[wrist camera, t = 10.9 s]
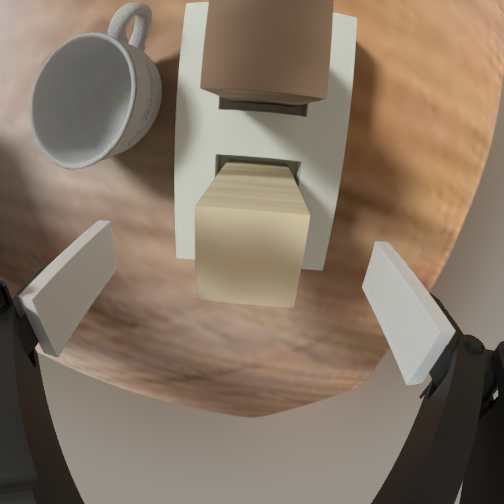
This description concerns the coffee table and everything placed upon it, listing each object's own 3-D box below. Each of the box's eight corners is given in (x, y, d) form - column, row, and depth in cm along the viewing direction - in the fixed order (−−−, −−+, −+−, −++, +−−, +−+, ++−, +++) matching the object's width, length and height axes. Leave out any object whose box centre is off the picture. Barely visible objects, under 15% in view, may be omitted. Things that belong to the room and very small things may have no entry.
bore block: (187, 238, 28) (176, 257, 25) (197, 17, 18) (186, 3, 15) (315, 250, 28) (322, 270, 25) (343, 30, 18) (356, 17, 15)
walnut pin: (233, 101, 21) (200, 88, 10) (237, 47, 19) (211, -15, 7) (293, 107, 21) (326, 99, 10) (298, 52, 19) (333, -5, 7)
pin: (229, 159, 24) (194, 205, 12) (287, 163, 24) (310, 215, 12) (226, 213, 26) (196, 299, 14) (280, 217, 26) (293, 307, 14)
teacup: (126, 174, 25) (83, 198, 18) (61, 114, 22) (10, 123, 15) (221, 62, 20) (203, 40, 13) (141, 6, 17) (102, -21, 10)
